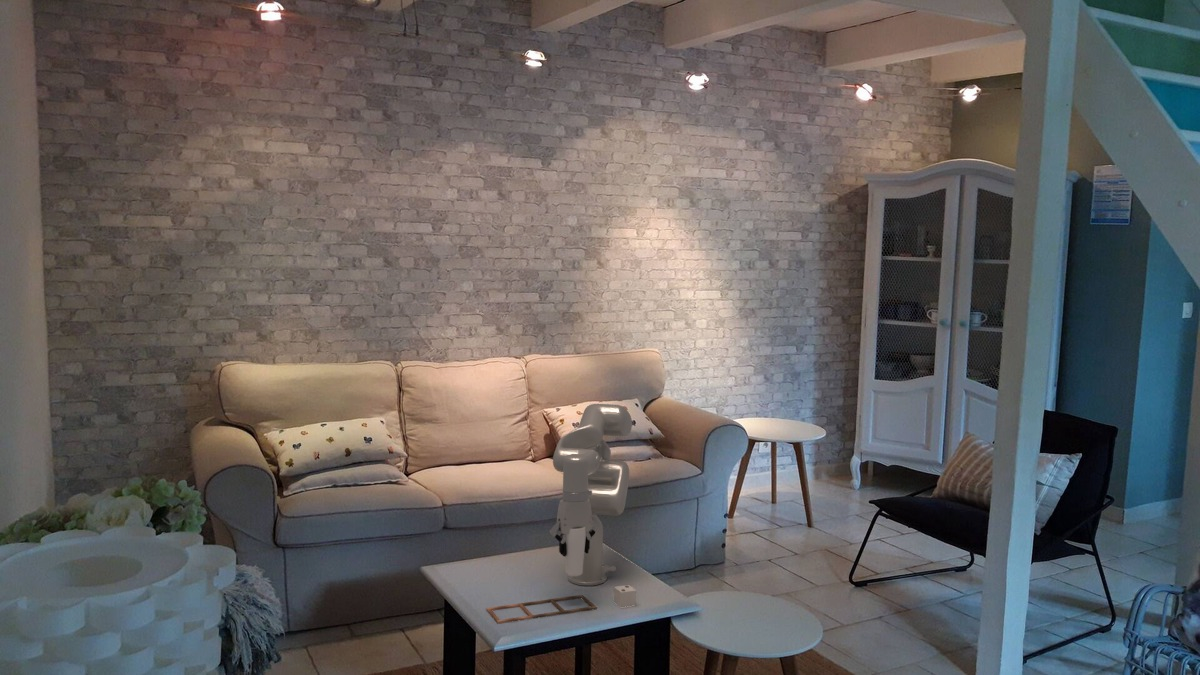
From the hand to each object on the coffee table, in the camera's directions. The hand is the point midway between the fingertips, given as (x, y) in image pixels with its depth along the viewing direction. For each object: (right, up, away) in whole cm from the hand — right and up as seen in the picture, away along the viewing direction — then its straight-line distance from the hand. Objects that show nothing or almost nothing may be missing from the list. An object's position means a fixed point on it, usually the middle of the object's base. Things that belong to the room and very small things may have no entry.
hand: (574, 553), depth 274 cm
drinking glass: (0, -7, +1) cm, 7 cm away
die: (+15, -16, +2) cm, 22 cm away
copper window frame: (-10, -16, -3) cm, 19 cm away
